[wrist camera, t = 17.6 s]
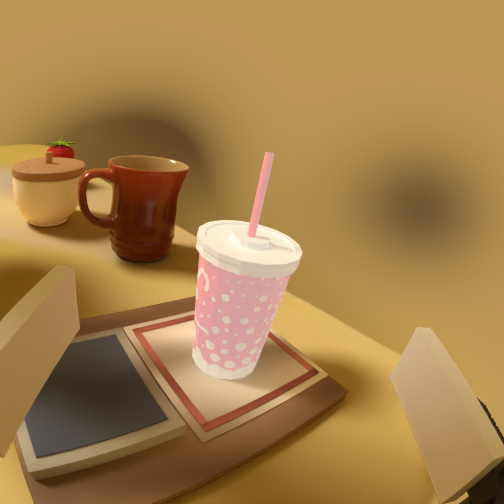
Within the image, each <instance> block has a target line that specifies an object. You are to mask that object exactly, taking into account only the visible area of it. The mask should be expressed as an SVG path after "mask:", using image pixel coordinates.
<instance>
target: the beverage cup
mask: <svg viewBox="0 0 504 504" xmlns="http://www.w3.org/2000/svg"><path fill="white" fill-rule="evenodd" d="M273 158H274V153H270V152H266V153H265V157H264V162H263V166H262V171H261V175H260V180H259V184H258V189H257V193H256V198H255V202H254V207H253V211H252V216H251V220H250V223H249V222H243V221H232V220H221V221H213V222H208V223H206V224H204V225H202V226H200V227H199V230H198V233H197V245H196V249H197V250H198V252H199V265H198V277H197V289H196V303H195V317H194V333H193V351H192V357H193V359H194V361H195V363H196V365H197V366H198V367H199V368H200V369H201V370H203V371H204V372H205V373H207V374H209V375H211V376H214V377H216V378H221V379H229V380H233V379H238V378H243V377H245V376H247V375H248V374H250V373H251V372H252V371H253V369H254V368H255V366H256V364H257V361H258V359H259V356H260V354H261V351H262V349H263V346H264V344H265V341H266V338H267V336H268V333H269V331H270V328H271V326H272V323H273V320H274V318H275V315H276V312H277V310H278V307H279V305H280V302H281V299H282V297H283V294H284V291H285V289H286V286H287V283H288V280H289V278H290V275H291V274H292V273H294V272H295V270H296V269H297V267H298V265H299V260H300V259H301V257H302V250H301V248H300V246H299V244H298V243H296V242H295V241H294V240H293V239H291V238H290V237H289V236H287V235H285V234H283V233H280V232H279V231H276V230H274V229H271V228H268V227H265V226H262V225H259V224H258V223H259V219H260V215H261V210H262V206H263V201H264V197H265V192H266V188H267V184H268V180H269V175H270V171H271V167H272V162H273Z"/></svg>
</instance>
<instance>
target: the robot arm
mask: <svg viewBox="0 0 504 504" xmlns="http://www.w3.org/2000/svg"><path fill="white" fill-rule="evenodd" d="M79 329H80V323H79V314H78V304H77V293H76V279H75V268H73V267H69V266H65V265H61V264H57V265H56V266H55V267H54V268H53V269H52V270H50V271H49V272H48V273H47V274H46V275H45V276H44V277H43V278H42V279H41V280H40V281H39V282H38V283H37V284H36V285H35V286H34V287H33V288H32V289H31V290H30V291H29V292H28V293H27V294H26V295H25V296H24V297H23V298H22V299H21V300H20V301H19V302H18V303H17V304H16V305H15V306H14V307H13V308H12V309H11V310H10V311H9V312H8V313H7V314H6V315H5V316H4V317H3V318H2V319H1V321H0V457H2V458H4V456H5V454H6V452H7V450H8V449H9V447H10V445H11V443H12V441H13V439H14V437H15V435H16V433H17V431H18V429H19V428H20V426H21V424H22V422H23V420H24V418H25V417H26V415H27V413H28V411H29V410H30V408H31V406H32V404H33V403H34V401H35V399H36V397H37V396H38V394H39V392H40V391H41V389H42V387H43V386H44V384H45V382H46V381H47V379H48V377H49V376H50V374H51V372H52V371H53V369H54V368H55V366H56V364H57V363H58V361H59V360H60V358H61V356H62V355H63V353H64V352H65V350H66V349H67V347H68V346H69V344H70V343H71V341H72V340H73V338H74V336H75V335H76V333H77V332H78V330H79ZM389 378H390V380H391V382H392V384H393V387H394V389H395V391H396V394H397V396H398V398H399V401H400V403H401V405H402V408H403V410H404V412H405V415H406V417H407V420H408V422H409V425H410V427H411V429H412V432H413V434H414V437H415V439H416V442H417V445H418V447H419V450H420V452H421V455H422V457H423V460H424V463H425V465H426V468H427V471H428V473H429V476H430V479H431V482H432V485H433V487H434V490H435V493H436V496H437V499H438V502H439V504H445V503H448V502H451V501H454V500H456V499H458V498H459V497H460V496H462V495H463V494H464V493H465V492H467V493H468V495H469V497H467V498H466V499H465V500H464V501H462V502H461V503H459V504H504V437H503V435H502V434H501V432H500V430H499V428H498V426H496V423H495V421H494V419H493V418H491V414H490V413H489V411H488V409H487V408H486V406H485V405H484V404H483V403H482V402H481V401H480V400H479V399H478V398H477V397H476V396H475V394H474V393H473V391H472V389H471V388H470V386H469V385H468V383H467V381H466V380H465V378H464V377H463V375H462V374H461V372H460V371H459V369H458V367H457V366H456V364H455V363H454V362H453V360H452V358H451V357H450V355H449V354H448V352H447V351H446V349H445V348H444V346H443V345H442V343H441V342H440V341H439V339H438V338H437V336H436V335H435V333H434V332H433V331H432V329H431V328H421V327H417V328H416V330H415V332H414V334H413V336H412V338H411V340H410V341H409V343H408V345H407V347H406V349H405V351H404V352H403V354H402V356H401V358H400V359H399V361H398V363H397V365H396V366H395V368H394V370H393V371H392V373H391V375H390V376H389Z"/></svg>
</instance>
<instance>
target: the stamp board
mask: <svg viewBox="0 0 504 504" xmlns="http://www.w3.org/2000/svg"><path fill="white" fill-rule="evenodd" d="M195 303H196V296H194V297H189V298H185V299H180V300H175V301H171V302H166V303H161V304H157V305H152V306H147V307H142V308H137V309H133V310H128V311H123V312H118V313H113V314H108V315H103V316H97V317H92V318H87V319H82V320H79V323H80V329H79V330H78V332H77V333H76V335H75V336H74V338H73V340H72V341H71V343H70V344H69V346H68V347H67V349H66V350H65V352H64V353H63V355H62V356H61V358H60V360H59V361H58V363H57V364H56V366H55V368H54V369H53V371H52V372H51V374H50V376H49V377H48V379H47V381H46V382H45V384H44V386H43V387H42V389H41V391H40V392H39V394H38V396H37V397H36V399H35V401H34V403H33V404H32V406H31V408H30V410H29V411H28V413H27V415H26V417H25V418H24V420H23V422H22V424H21V426H20V428H19V429H18V431H17V433H16V435H15V437H14V443H15V447H16V451H17V454H18V457H19V461H20V464H21V467H22V470H23V474H24V477H25V480H26V482H27V485H28V488H29V491H30V493H31V496H32V499H33V501H34V504H163V503H165V502H168V501H170V500H172V499H175V498H177V497H179V496H182V495H184V494H186V493H188V492H190V491H193V490H195V489H197V488H199V487H201V486H203V485H205V484H207V483H209V482H211V481H213V480H215V479H217V478H219V477H221V476H223V475H225V474H227V473H229V472H231V471H232V470H234V469H236V468H238V467H240V466H242V465H243V464H245V463H247V462H249V461H250V460H252V459H254V458H256V457H257V456H259V455H261V454H262V453H264V452H266V451H267V450H269V449H271V448H272V447H274V446H276V445H277V444H279V443H280V442H282V441H284V440H285V439H287V438H288V437H290V436H291V435H293V434H294V433H296V432H297V431H299V430H300V429H302V428H303V427H305V426H306V425H308V424H309V423H311V422H312V421H314V420H315V419H316V418H318V417H319V416H321V415H322V414H323V413H325V412H326V411H328V410H329V409H330V408H332V407H333V406H334V405H336V404H337V403H338V402H340V401H341V400H342V399H344V398H345V396H346V394H347V392H348V391H347V390H346V389H345V388H344V387H342V386H341V385H340V384H339V383H337V382H336V381H335V380H333V379H332V378H331V377H330V376H328V375H329V374H328V373H326V372H325V371H324V370H323V369H321V368H320V367H319V366H318V365H316V364H315V363H314V362H313V361H311V360H310V359H309V358H308V357H306V356H305V355H304V354H303V353H301V352H300V351H299V350H298V349H296V348H295V347H294V346H293V345H292V344H290V343H289V342H288V341H287V340H285V339H284V338H283V337H282V336H281V335H279V334H278V333H277V332H276V331H275V330H273V329H272V328H270V331H269V333H268V336H267V338H266V341H265V344H264V346H263V349H262V351H261V354H260V356H259V359H258V361H257V364H256V366H255V368H254V369H253V371H252V372H251V373H250V374H248V375H247V376H245V377H243V378H238V379H233V380H229V379H221V378H216V377H214V376H211V375H209V374H207V373H205V372H204V371H203V370H201V369H200V368H199V367H198V366H197V365H196V363H195V361H194V359H193V357H192V351H193V333H194V317H195Z"/></svg>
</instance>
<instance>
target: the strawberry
mask: <svg viewBox="0 0 504 504" xmlns="http://www.w3.org/2000/svg"><path fill="white" fill-rule="evenodd" d="M63 136H64V135H63ZM63 136H62V137H63ZM60 140H61V139H60ZM49 144H55V145H53V146H51V147H50V148H49V149H48V150H47V152H53V157H61V158H71V159H74V151H73V149H72V148H71V147H70V146H69V144H75V143H71V142H63V141H58V142H52V143H49Z"/></svg>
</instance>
